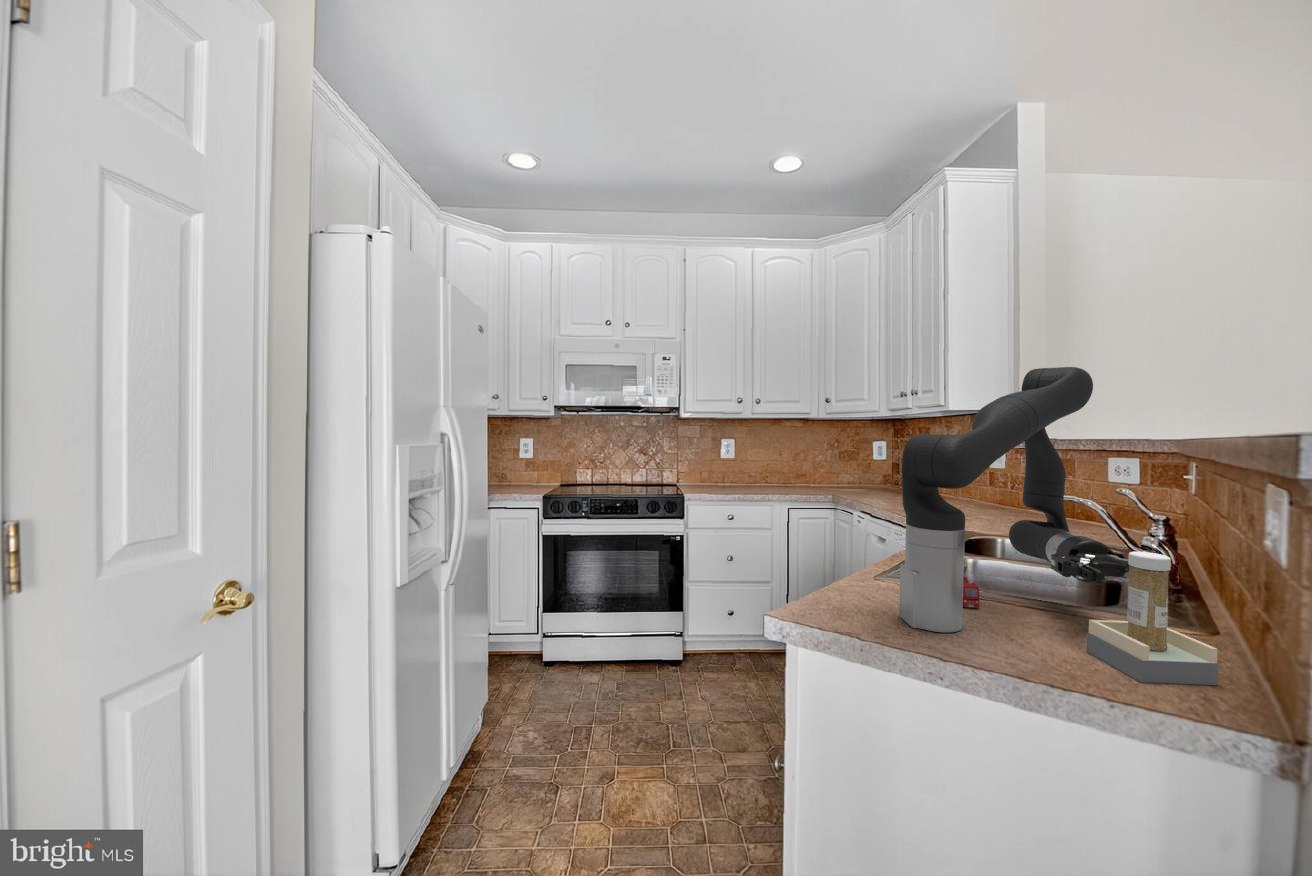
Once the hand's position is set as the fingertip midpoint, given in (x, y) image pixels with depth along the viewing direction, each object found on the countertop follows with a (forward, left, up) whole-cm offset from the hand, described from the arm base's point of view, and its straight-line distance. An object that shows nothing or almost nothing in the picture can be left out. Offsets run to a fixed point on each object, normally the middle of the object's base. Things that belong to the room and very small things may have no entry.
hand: (1132, 580), depth 83 cm
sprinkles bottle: (-1, -4, -8) cm, 10 cm away
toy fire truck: (-13, +26, -12) cm, 31 cm away
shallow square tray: (-1, -4, -11) cm, 12 cm away
